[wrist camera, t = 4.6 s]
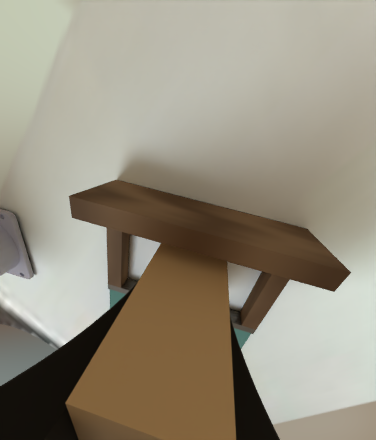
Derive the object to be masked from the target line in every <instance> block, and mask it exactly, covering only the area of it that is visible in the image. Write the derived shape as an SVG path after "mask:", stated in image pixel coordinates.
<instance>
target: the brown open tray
mask: <svg viewBox="0 0 376 440" xmlns="http://www.w3.org/2000/svg"><path fill="white" fill-rule="evenodd" d="M69 199H70V206H71V214H72V218H75V219H79V220H82V221H86V222H89V223H93V224H96V225H100V226H103V227H107V259H108V289H111V290H114V291H117V292H120V293H124V294H127V293H128V292H129V291H130V290H131V289H132V288H133V287H134V285H135V284H136V283H137V282H138V281H136V280H132V279H129V278H128V261H129V240H130V234H132V235H135V236H139V237H142V238H146V239H149V240H153V241H156V242H160V243H164V244H167V245H171V246H174V247H178V248H181V249H185V250H188V251H192V252H195V253H199V254H202V255H206V256H210V257H213V258H217V259H220V260H224V261H227V262H231V263H234V264H238V265H241V266H245V267H248V268H252V269H256V270H259V271H262V273H261V275H260V277H259V279H258V280H257V282H256V284H255V286H254V288H253V290H252V291H251V293H250V295H249V297H248V299H247V300H246V302H245V304H244V306H243V308H242V310H241V311H240V312H237V311H234V310H231V309H229V311H230V317H231V321H232V324H233V327H234V328H235V329H239V330H242V331H245V332H248V333H251V334H253V333H254V332H255V330H256V329H257V327H258V326H259V324H260V323H261V321H262V320H263V318H264V317H265V315H266V314H267V312H268V311H269V309H270V308H271V306H272V305H273V303H274V302H275V300H276V299H277V297H278V296H279V294H280V293H281V291H282V290H283V289H284V287H285V286H286V284H287V283H288V281H289V280H290V279H291V280H294V281H298V282H302V283H305V284H309V285H312V286H316V287H319V288H323V289H326V290H330V291H333V292H334V291H335V290H336V289H337V288H338V287H339V286H340V285H341V283H342V282H343V281H344V280H345V279H346V278H347V277H348V276H349V274H350V273H351V272H350V271H349V270H348V269H347V268H346V267H345V266H344V265H343V264H342V263H341V262H340V261H339V260H338V259H337V258H336V257H335V256H334V255H333V254H332V253H331V252H330V251H329V250H328V249H327V248H326V247H325V246H324V245H323V244H322V243H321V242H320V241H319V240H318V239H317V238H316V237H315V236H314V235H313V234H312V233H311V232H310V231H309V230H308V229H305V228H301V227H298V226H294V225H290V224H286V223H282V222H278V221H274V220H270V219H266V218H263V217H259V216H255V215H251V214H247V213H243V212H239V211H235V210H231V209H228V208H224V207H220V206H216V205H212V204H208V203H204V202H200V201H196V200H193V199H189V198H185V197H181V196H177V195H173V194H169V193H165V192H162V191H158V190H154V189H150V188H146V187H142V186H138V185H134V184H130V183H127V182H123V181H119V180H114V181H111V182H108V183H105V184H103V185H100V186H97V187H94V188H91V189H88V190H85V191H82V192H79V193H76V194H73V195H70V196H69Z"/></svg>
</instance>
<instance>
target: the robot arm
mask: <svg viewBox="0 0 376 440" xmlns="http://www.w3.org/2000/svg"><path fill="white" fill-rule="evenodd" d="M6 272H7V273H10V274H13V275H16V276H19V277H23V278H26V279H31V278H32V277H33V276H34V274H33V271H32V267H31V264H30V261H29V258H28V254H27V251H26V248H25V244H24V241H23V238H22V235H21V231H20V228H19V225H18V222H17V218H16V216H15V215H14V214H13V213H12V212H9V211H6V210H2V209H0V276H1V275H3V274H4V273H6ZM137 283H138V282H137ZM137 283H136V284H137ZM136 284H135V285H134V287H133V288H132V289H131V290H130V291H129V292H128V293H127V294H126V295H125V296H124V297H122V298H121V299H120V300H119V301H118V302H117V303H116V304H115V305H114V306H113V307H112V308H110V309H109V310H108V311H107V312H106V313H105V314H103V315H102V316H101V317H100V318H99V319H97V320H96V321H95V322H94V323H93V324H91V325H90V326H89V327H88V328H86V329H85V330H84V331H82V332H81V333H80V334H78V335H77V336H76V337H74V338H73V339H72V340H70V341H69V342H68V343H66V344H65V345H63V346H62V347H60V348H59V349H58V350H56V351H55V352H53V353H52V354H51V355H49V356H47V357H46V358H45V359H43V360H41V361H40V362H38V363H37V364H36V365H34V366H32V367H30V368H29V369H27V370H26V371H24V372H23V373H21V374H19V375H18V376H16V377H15V378H13V379H12V380H10V381H8V382H7V383H5V384H3V385H2V386H0V440H78V437H77V434H76V431H75V429H74V426H73V423H72V420H71V417H70V415H69V412H68V409H67V406H66V404H65V403H66V401H67V400H68V398H69V396H70V395H71V393H72V391H73V390H74V388H75V386H76V385H77V383H78V381H79V380H80V378H81V376H82V375H83V373H84V371H85V370H86V368H87V366H88V365H89V363H90V361H91V360H92V358H93V356H94V355H95V353H96V351H97V350H98V348H99V346H100V345H101V343H102V341H103V340H104V338H105V336H106V335H107V333H108V331H109V330H110V328H111V326H112V325H113V323H114V321H115V320H116V318H117V316H118V315H119V313H120V311H121V310H122V308H123V306H124V305H125V303H126V301H127V300H128V298H129V296H130V295H131V293H132V291H133V289H134V288H135V286H136ZM230 330H231V349H232V369H233V388H234V408H235V427H236V440H280V439H279V437H278V435H277V433H276V431H275V429H274V427H273V425H272V423H271V420H270V418H269V416H268V414H267V412H266V410H265V408H264V405H263V403H262V401H261V399H260V396H259V394H258V392H257V390H256V387H255V385H254V382H253V380H252V378H251V375H250V373H249V370H248V367H247V365H246V362H245V360H244V357H243V354H242V351H241V348H240V346H239V343H238V340H237V337H236V334H235V331H234V327H233V324H232V321H231V317H230Z"/></svg>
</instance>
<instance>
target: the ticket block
mask: <svg viewBox="0 0 376 440" xmlns="http://www.w3.org/2000/svg"><path fill="white" fill-rule="evenodd" d="M65 404H66V406H67V409H68V412H69V415H70V417H71V420H72V423H73V426H74V429H75V431H76V434H77V437H78V440H236V427H235V408H234V388H233V369H232V349H231V330H230V311H229V291H228V272H227V261H224V260H220V259H217V258H213V257H210V256H206V255H202V254H199V253H195V252H192V251H188V250H185V249H181V248H178V247H174V246H171V245H167V244H164V243H161V244H160V246H159V248H158V249H157V251H156V253H155V254H154V256H153V258H152V259H151V261H150V263H149V264H148V266H147V268H146V269H145V271H144V273H143V274H142V276H141V278H140V279H139V281H138V283H137V284H136V286H135V288H134V289H133V291H132V293H131V295H130V296H129V298H128V300H127V301H126V303H125V305H124V306H123V308H122V310H121V311H120V313H119V315H118V316H117V318H116V320H115V321H114V323H113V325H112V326H111V328H110V330H109V331H108V333H107V335H106V336H105V338H104V340H103V341H102V343H101V345H100V346H99V348H98V350H97V351H96V353H95V355H94V356H93V358H92V360H91V361H90V363H89V365H88V366H87V368H86V370H85V371H84V373H83V375H82V376H81V378H80V380H79V381H78V383H77V385H76V386H75V388H74V390H73V391H72V393H71V395H70V396H69V398H68V400H67V401H66V403H65Z"/></svg>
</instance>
